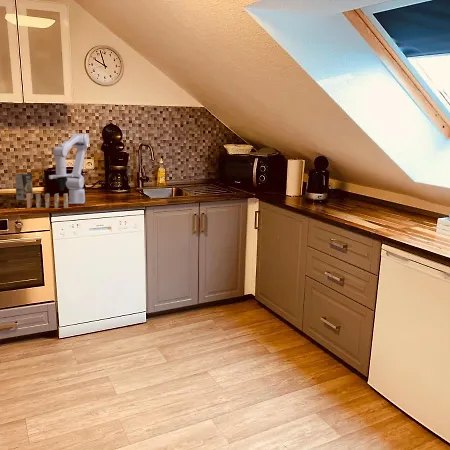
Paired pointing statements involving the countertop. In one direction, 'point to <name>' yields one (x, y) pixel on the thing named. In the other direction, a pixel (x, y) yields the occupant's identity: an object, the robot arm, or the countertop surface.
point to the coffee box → (23, 186)
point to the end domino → (29, 200)
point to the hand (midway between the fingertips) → (61, 190)
